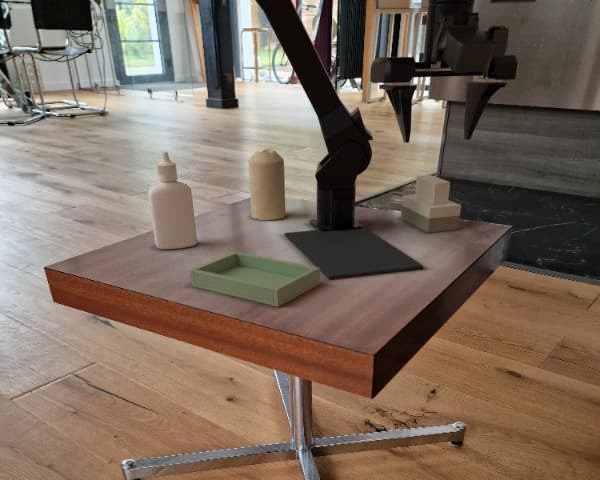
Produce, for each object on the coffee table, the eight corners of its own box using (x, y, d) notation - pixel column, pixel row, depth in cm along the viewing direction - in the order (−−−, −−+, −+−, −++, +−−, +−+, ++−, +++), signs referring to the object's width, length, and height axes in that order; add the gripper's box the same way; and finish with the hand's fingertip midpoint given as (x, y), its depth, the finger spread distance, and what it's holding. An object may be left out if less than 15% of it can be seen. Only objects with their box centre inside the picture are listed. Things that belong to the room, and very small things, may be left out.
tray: (191, 286, 65) (189, 269, 64) (236, 266, 71) (235, 251, 70) (278, 307, 59) (277, 289, 58) (320, 283, 65) (320, 267, 64)
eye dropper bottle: (161, 241, 81) (148, 149, 75) (200, 241, 80) (190, 149, 74) (152, 250, 77) (137, 154, 71) (192, 250, 77) (181, 154, 70)
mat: (284, 235, 82) (284, 232, 82) (362, 228, 85) (362, 225, 85) (329, 279, 66) (329, 276, 66) (423, 268, 69) (423, 265, 69)
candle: (264, 211, 96) (261, 146, 90) (291, 214, 93) (290, 148, 88) (244, 218, 92) (240, 151, 86) (273, 222, 89) (270, 153, 84)
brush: (400, 218, 90) (404, 174, 87) (429, 215, 91) (433, 172, 88) (427, 232, 83) (432, 185, 79) (458, 229, 84) (464, 183, 80)
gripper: (407, -2, 62) (397, 152, 70) (556, -1, 66) (530, 145, 74) (371, 6, 72) (366, 141, 80) (504, 6, 75) (485, 135, 83)
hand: (437, 140), depth 79 cm, fingers open, 9 cm apart
